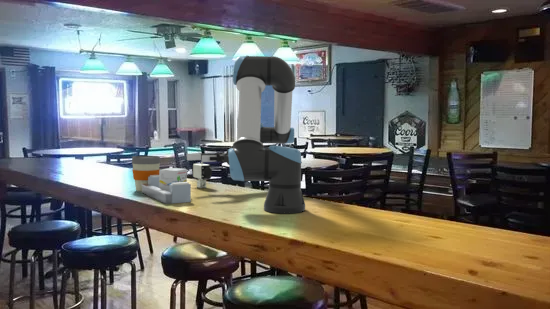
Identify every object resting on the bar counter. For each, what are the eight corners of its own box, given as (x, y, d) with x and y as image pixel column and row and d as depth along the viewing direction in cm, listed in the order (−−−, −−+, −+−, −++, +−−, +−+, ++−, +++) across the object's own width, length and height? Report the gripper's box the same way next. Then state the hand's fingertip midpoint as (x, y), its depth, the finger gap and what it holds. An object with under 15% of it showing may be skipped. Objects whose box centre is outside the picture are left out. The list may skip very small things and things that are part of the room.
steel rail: (171, 203, 196) (171, 193, 195) (164, 204, 194) (164, 193, 194) (147, 192, 221) (147, 183, 221) (141, 193, 220) (141, 183, 219)
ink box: (176, 199, 206) (176, 170, 205) (158, 197, 209) (158, 169, 208) (187, 196, 214) (187, 168, 213) (170, 194, 217) (170, 167, 216)
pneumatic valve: (203, 189, 234) (203, 163, 233) (191, 186, 243) (191, 161, 242) (213, 188, 237) (214, 162, 236) (201, 185, 246) (201, 160, 245)
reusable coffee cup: (150, 192, 221) (150, 158, 220) (126, 191, 225) (125, 157, 224) (165, 189, 233) (165, 156, 232) (142, 187, 237) (142, 155, 236)
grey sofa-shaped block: (190, 201, 200) (190, 182, 199) (172, 203, 196) (172, 183, 195) (164, 191, 225) (164, 174, 225) (148, 192, 221) (148, 175, 221)
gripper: (251, 167, 220) (208, 168, 207) (222, 163, 240) (181, 164, 227) (252, 149, 219) (208, 150, 207) (222, 147, 239) (181, 148, 227)
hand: (194, 157), depth 217 cm, fingers open, 13 cm apart
